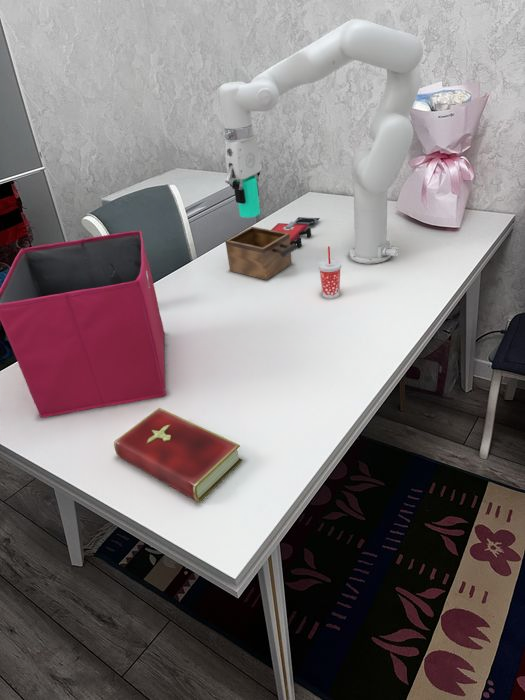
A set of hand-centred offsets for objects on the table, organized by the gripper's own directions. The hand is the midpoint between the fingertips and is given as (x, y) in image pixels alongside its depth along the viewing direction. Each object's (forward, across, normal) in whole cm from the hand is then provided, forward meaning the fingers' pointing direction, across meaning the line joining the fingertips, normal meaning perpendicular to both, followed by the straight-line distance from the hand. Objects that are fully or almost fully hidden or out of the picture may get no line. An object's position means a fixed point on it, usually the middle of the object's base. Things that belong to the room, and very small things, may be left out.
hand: (247, 198), depth 159 cm
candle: (+5, 0, 0) cm, 5 cm away
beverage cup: (+23, -4, -29) cm, 37 cm away
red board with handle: (+22, +26, +7) cm, 35 cm away
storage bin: (+22, -60, -4) cm, 65 cm away
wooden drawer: (+22, +1, -3) cm, 22 cm away
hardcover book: (+22, -72, -39) cm, 85 cm away
